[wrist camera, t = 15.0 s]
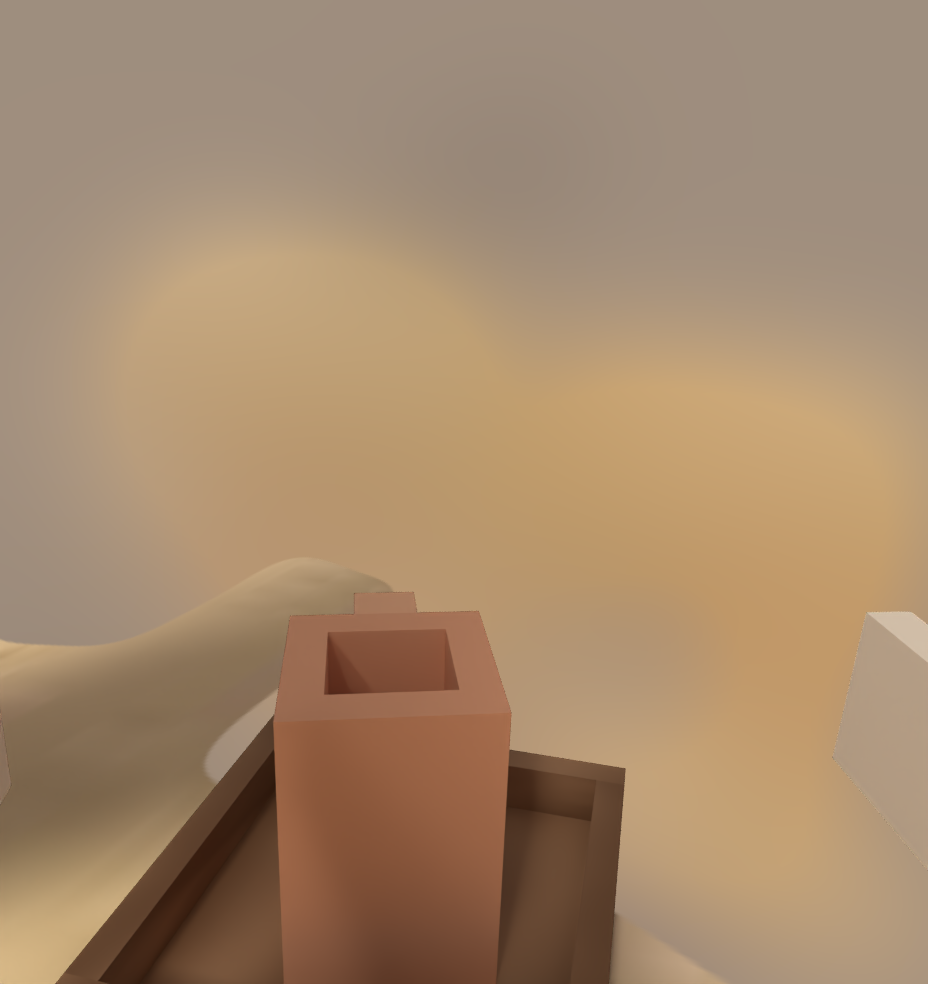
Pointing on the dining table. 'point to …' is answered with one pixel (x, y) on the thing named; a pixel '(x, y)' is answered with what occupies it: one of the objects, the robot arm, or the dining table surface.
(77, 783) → the dining table surface
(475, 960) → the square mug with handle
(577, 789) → the tray
